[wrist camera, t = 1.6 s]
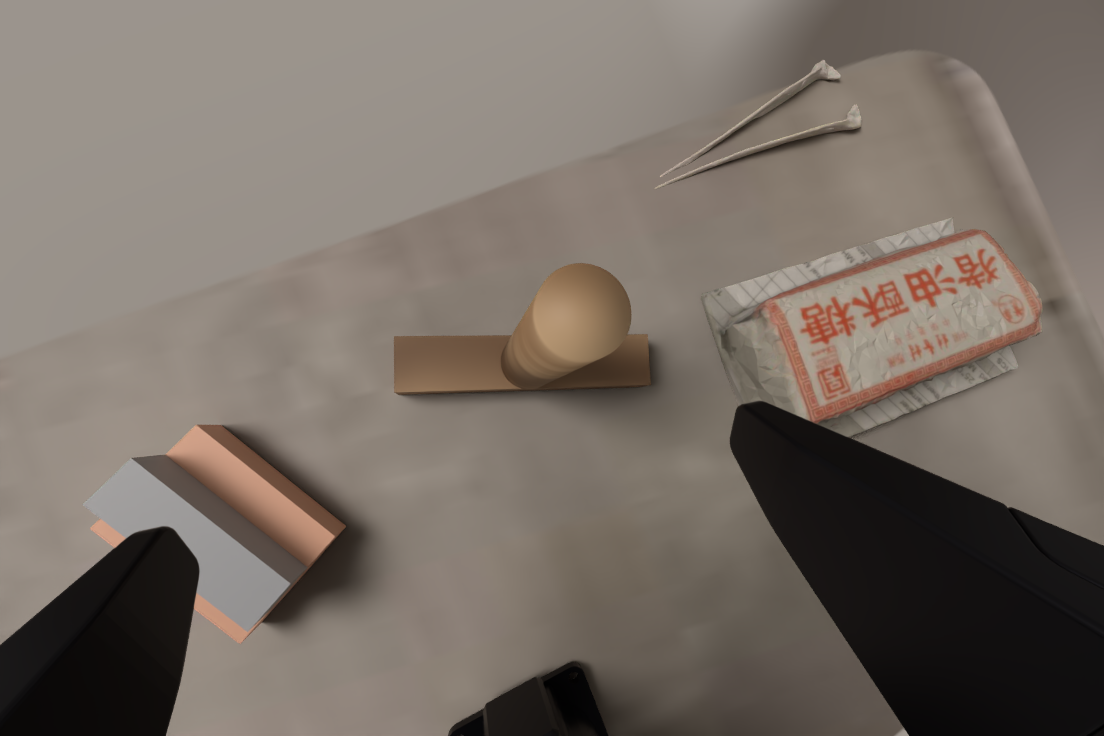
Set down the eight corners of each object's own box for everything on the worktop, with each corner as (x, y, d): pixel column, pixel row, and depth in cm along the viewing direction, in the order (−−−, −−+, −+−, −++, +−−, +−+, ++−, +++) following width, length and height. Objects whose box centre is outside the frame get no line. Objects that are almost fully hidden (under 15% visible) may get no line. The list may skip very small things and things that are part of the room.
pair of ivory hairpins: (819, 68, 30) (842, 44, 28) (855, 133, 30) (881, 113, 28) (586, 181, 27) (594, 163, 25) (625, 252, 27) (636, 240, 25)
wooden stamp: (638, 388, 25) (790, 356, 13) (398, 395, 22) (339, 365, 11) (635, 339, 25) (781, 268, 14) (398, 341, 23) (340, 258, 11)
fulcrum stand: (346, 526, 21) (321, 548, 17) (261, 622, 20) (214, 670, 16) (220, 424, 21) (165, 424, 17) (126, 518, 20) (44, 541, 16)
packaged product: (819, 479, 21) (743, 270, 22) (753, 470, 26) (692, 298, 26) (1092, 360, 25) (1021, 186, 26) (992, 371, 30) (934, 224, 30)
